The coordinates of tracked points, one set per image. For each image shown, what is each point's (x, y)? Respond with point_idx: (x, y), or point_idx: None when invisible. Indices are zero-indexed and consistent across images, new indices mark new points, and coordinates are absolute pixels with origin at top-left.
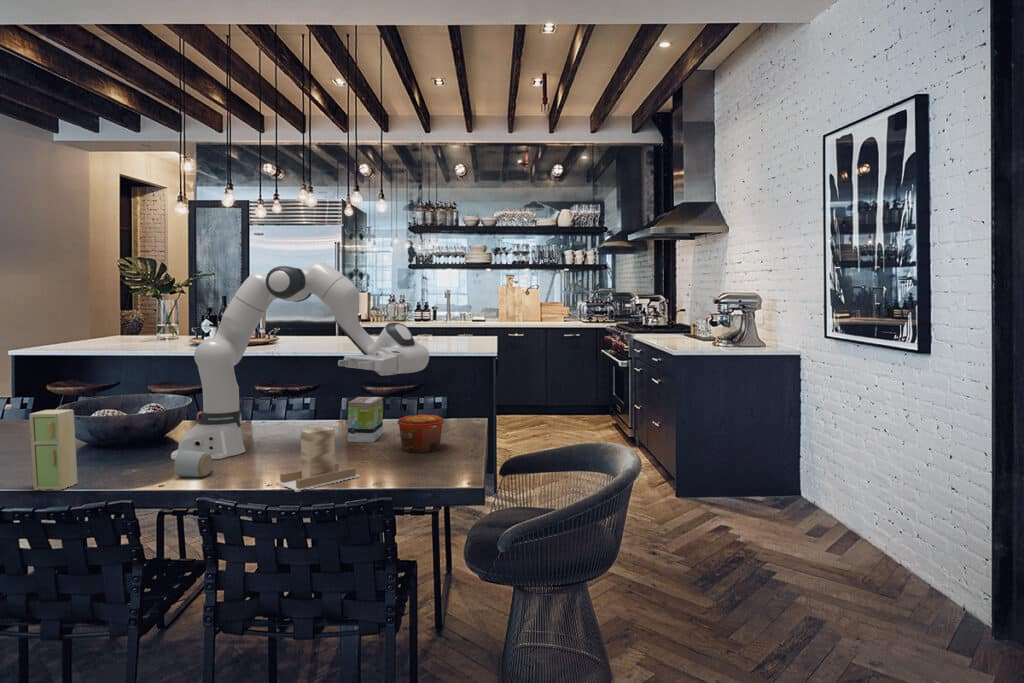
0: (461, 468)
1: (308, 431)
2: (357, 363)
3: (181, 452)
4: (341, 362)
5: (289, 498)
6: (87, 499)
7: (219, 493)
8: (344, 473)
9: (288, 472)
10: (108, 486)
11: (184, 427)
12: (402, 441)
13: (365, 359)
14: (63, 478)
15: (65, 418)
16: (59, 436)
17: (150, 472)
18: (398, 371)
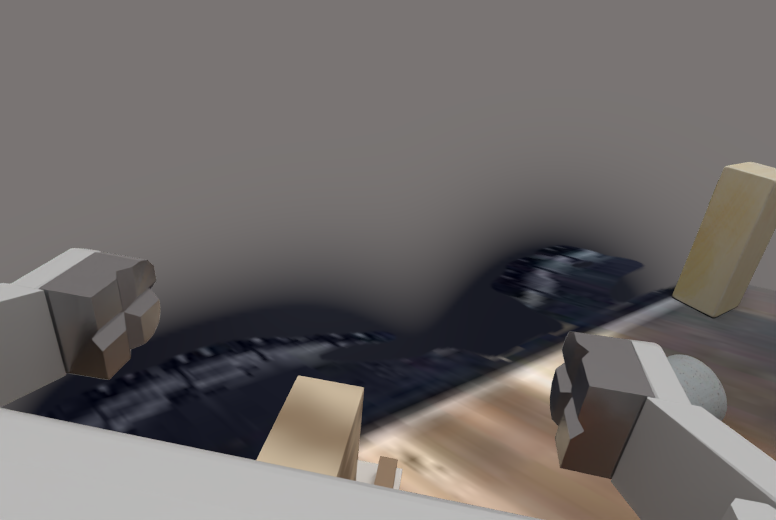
0: None
1: (325, 391)
2: (118, 258)
3: (684, 357)
4: (563, 351)
5: (261, 410)
6: (582, 290)
7: (445, 374)
8: None
9: (391, 482)
10: (661, 328)
11: None
12: None
13: (52, 426)
14: (683, 281)
15: (741, 185)
16: (708, 208)
17: (764, 405)
18: None
